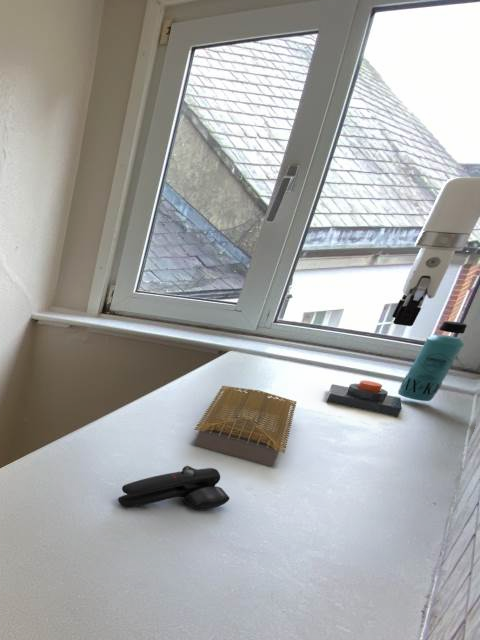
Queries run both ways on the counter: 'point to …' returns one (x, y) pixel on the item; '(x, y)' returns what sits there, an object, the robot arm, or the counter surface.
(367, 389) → the button
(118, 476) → the counter surface
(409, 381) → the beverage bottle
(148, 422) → the counter surface
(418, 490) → the counter surface
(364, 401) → the switch box
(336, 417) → the counter surface
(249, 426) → the rafter model
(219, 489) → the can opener
